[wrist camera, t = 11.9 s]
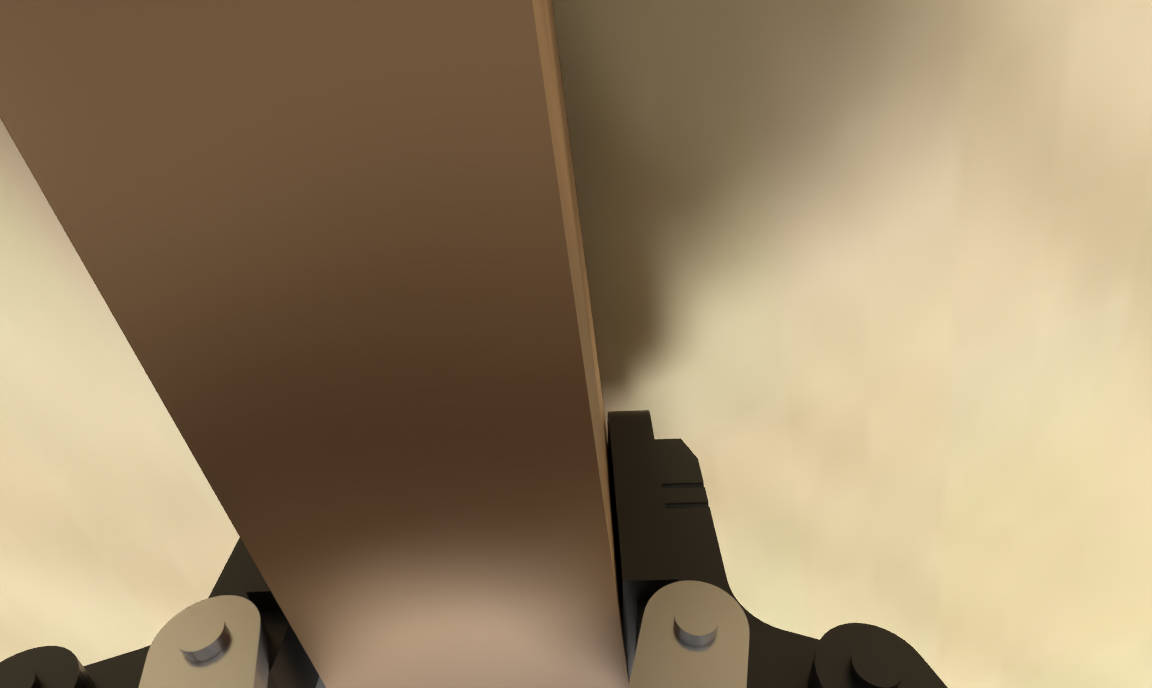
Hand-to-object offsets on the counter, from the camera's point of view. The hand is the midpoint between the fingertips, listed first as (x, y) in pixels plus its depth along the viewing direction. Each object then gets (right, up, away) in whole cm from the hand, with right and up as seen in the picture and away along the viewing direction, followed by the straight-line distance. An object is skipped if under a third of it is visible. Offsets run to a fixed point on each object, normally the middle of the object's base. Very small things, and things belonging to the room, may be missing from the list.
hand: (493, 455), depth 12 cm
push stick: (0, +4, -2) cm, 4 cm away
